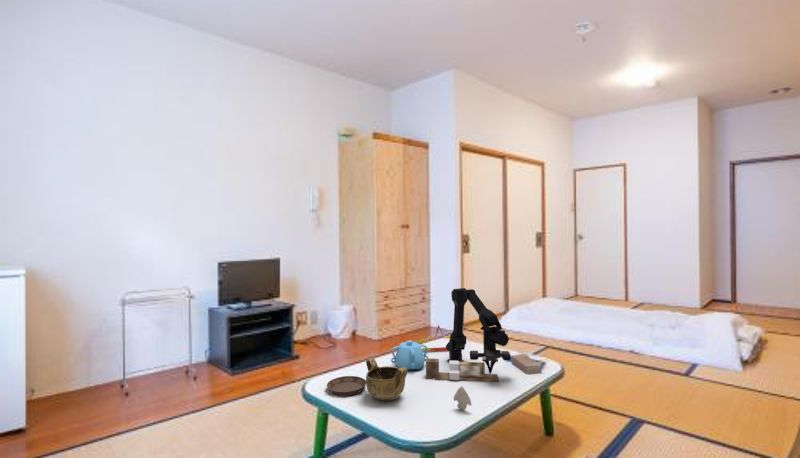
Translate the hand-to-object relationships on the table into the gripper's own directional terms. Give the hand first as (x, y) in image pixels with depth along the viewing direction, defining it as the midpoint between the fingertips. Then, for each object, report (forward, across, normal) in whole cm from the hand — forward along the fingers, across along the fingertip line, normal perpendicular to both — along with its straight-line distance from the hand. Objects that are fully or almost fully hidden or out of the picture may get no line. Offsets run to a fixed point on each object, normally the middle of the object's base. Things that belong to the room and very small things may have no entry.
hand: (490, 373), depth 202 cm
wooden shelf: (+2, -13, 0) cm, 14 cm away
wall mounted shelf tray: (+1, -9, 0) cm, 9 cm away
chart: (+3, -28, +40) cm, 48 cm away
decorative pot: (+2, -40, +13) cm, 42 cm away
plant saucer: (+2, -65, -18) cm, 68 cm away
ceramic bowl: (+2, -46, -26) cm, 53 cm away
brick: (+3, +19, +16) cm, 25 cm away
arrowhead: (+2, -14, -35) cm, 38 cm away
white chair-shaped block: (+2, -17, 0) cm, 17 cm away
